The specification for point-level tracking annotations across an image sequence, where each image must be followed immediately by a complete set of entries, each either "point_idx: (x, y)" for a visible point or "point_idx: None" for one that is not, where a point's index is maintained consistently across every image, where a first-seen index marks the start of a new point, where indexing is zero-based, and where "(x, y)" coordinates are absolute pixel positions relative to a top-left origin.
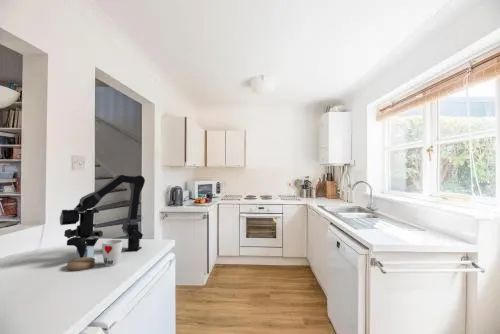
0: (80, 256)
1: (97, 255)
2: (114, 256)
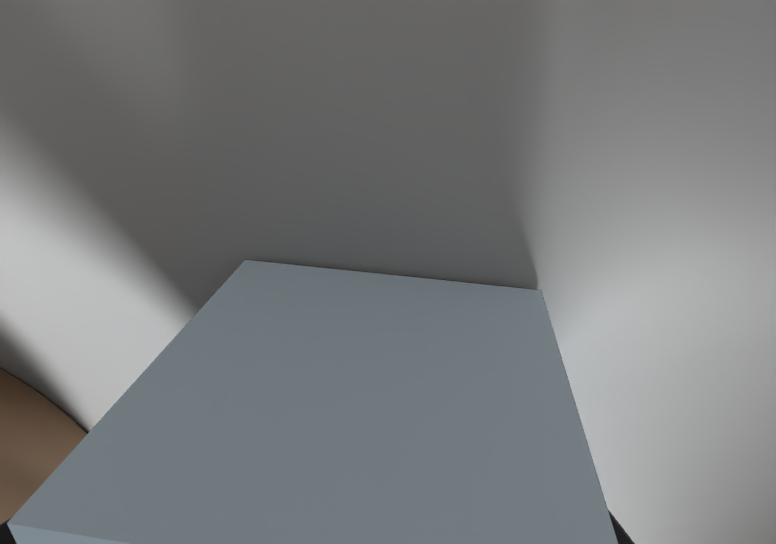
0: None
1: None
2: None
